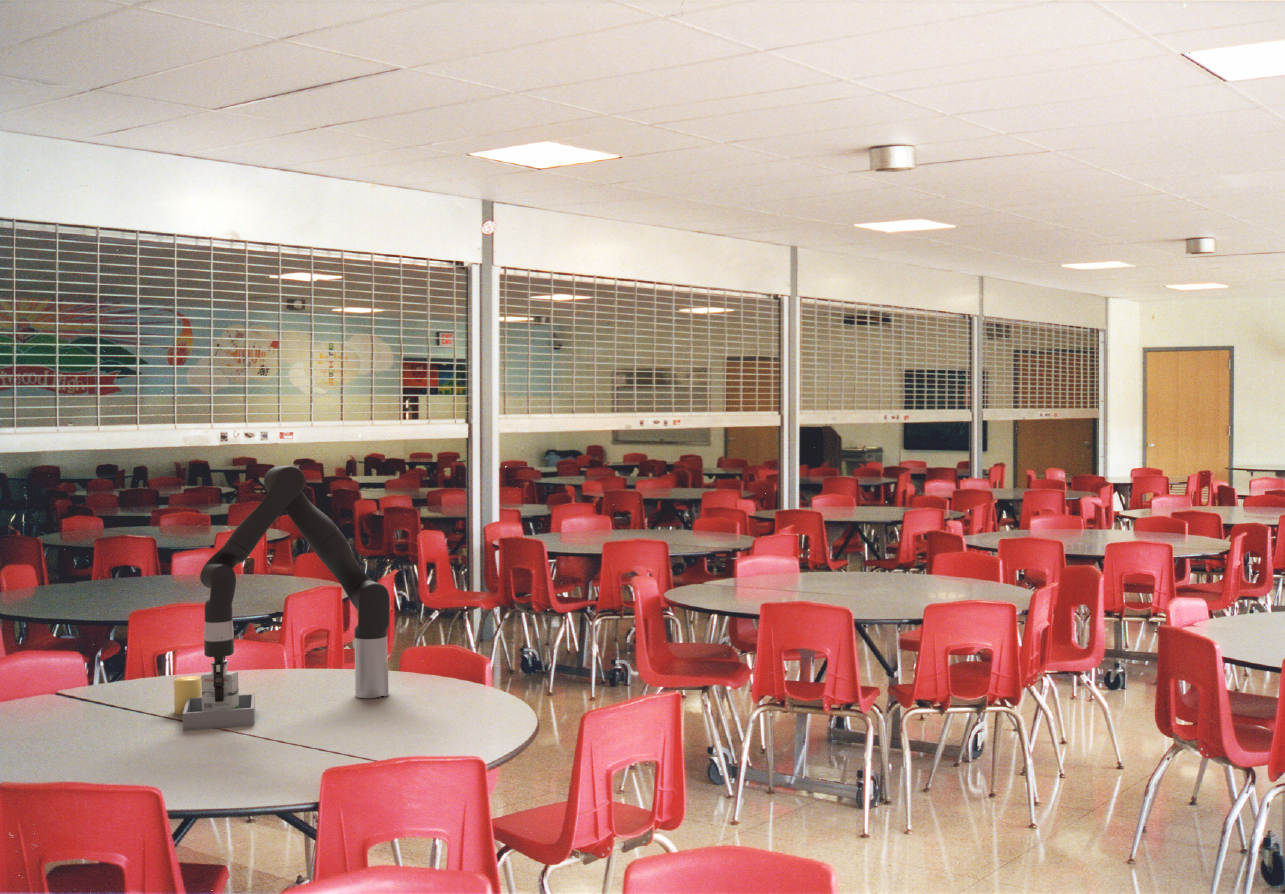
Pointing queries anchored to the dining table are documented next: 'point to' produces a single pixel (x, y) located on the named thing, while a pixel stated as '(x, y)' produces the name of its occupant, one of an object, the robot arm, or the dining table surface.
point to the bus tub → (218, 714)
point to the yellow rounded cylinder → (185, 691)
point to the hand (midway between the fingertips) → (220, 698)
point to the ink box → (229, 692)
